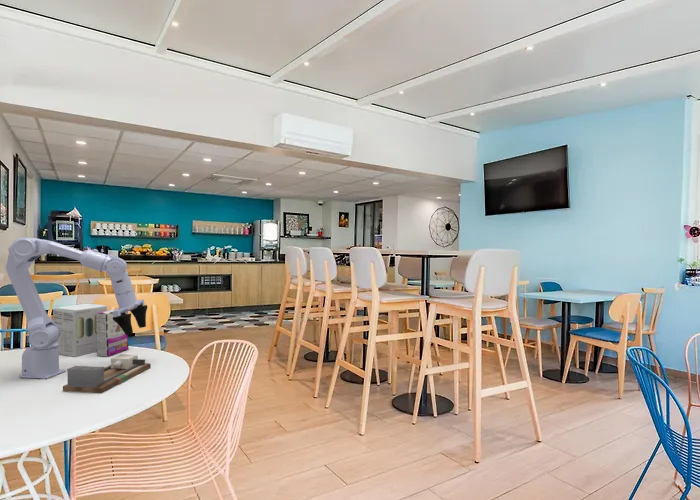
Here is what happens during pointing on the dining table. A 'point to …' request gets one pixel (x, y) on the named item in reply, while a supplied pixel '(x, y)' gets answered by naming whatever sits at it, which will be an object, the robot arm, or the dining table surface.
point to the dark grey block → (85, 376)
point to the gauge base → (111, 378)
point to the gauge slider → (126, 361)
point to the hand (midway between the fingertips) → (136, 330)
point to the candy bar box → (109, 335)
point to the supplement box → (77, 328)
